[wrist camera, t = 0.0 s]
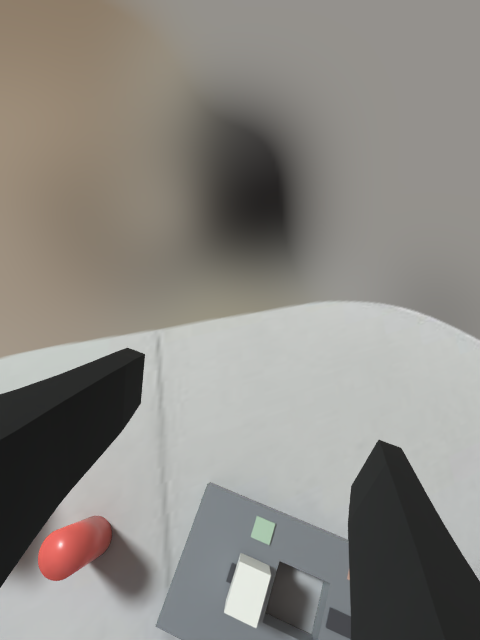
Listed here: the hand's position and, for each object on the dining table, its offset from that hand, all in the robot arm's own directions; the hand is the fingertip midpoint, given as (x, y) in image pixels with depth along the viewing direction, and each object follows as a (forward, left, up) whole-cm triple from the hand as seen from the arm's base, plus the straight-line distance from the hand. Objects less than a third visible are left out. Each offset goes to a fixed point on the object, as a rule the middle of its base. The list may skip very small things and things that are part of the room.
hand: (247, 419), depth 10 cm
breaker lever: (-12, -4, -29) cm, 32 cm away
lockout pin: (-15, +13, -32) cm, 38 cm away
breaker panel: (-12, -8, -32) cm, 35 cm away
